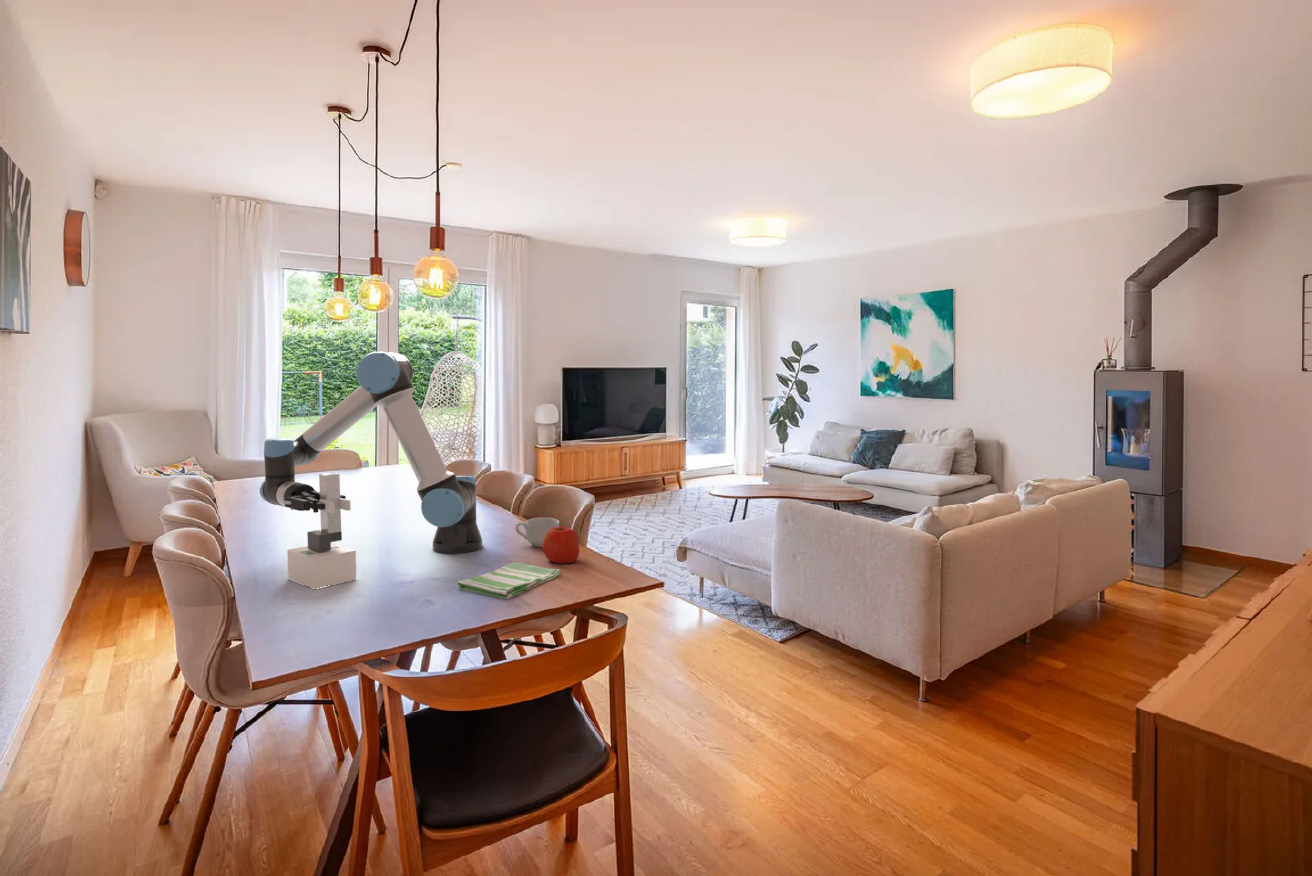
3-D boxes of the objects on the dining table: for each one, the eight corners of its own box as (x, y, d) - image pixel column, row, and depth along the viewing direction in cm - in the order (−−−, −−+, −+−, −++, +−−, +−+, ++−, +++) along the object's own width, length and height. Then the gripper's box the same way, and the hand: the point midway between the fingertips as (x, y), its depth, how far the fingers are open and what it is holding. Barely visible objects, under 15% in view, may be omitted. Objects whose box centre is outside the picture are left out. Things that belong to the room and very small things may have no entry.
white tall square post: (334, 538, 184) (332, 472, 182) (341, 540, 181) (339, 473, 180) (321, 540, 181) (318, 474, 179) (328, 542, 179) (326, 475, 177)
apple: (535, 563, 199) (535, 527, 198) (557, 554, 208) (557, 520, 207) (565, 568, 194) (565, 532, 193) (586, 559, 203) (586, 524, 202)
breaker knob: (319, 546, 182) (318, 530, 181) (330, 550, 178) (330, 533, 178) (307, 548, 179) (307, 532, 179) (319, 552, 176) (319, 535, 175)
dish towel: (562, 577, 187) (562, 567, 187) (508, 602, 166) (508, 591, 166) (511, 568, 195) (511, 558, 195) (453, 590, 174) (453, 580, 174)
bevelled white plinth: (328, 570, 188) (328, 541, 188) (356, 579, 180) (355, 550, 179) (288, 579, 179) (287, 549, 179) (315, 589, 171) (314, 558, 170)
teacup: (562, 541, 224) (562, 517, 224) (554, 550, 214) (554, 525, 213) (521, 540, 226) (521, 516, 225) (511, 548, 215) (511, 523, 214)
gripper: (326, 504, 198) (371, 515, 184) (266, 513, 184) (309, 526, 171) (325, 479, 197) (370, 488, 183) (265, 486, 184) (308, 496, 170)
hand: (341, 506), depth 177 cm, fingers closed on white tall square post, 4 cm apart
